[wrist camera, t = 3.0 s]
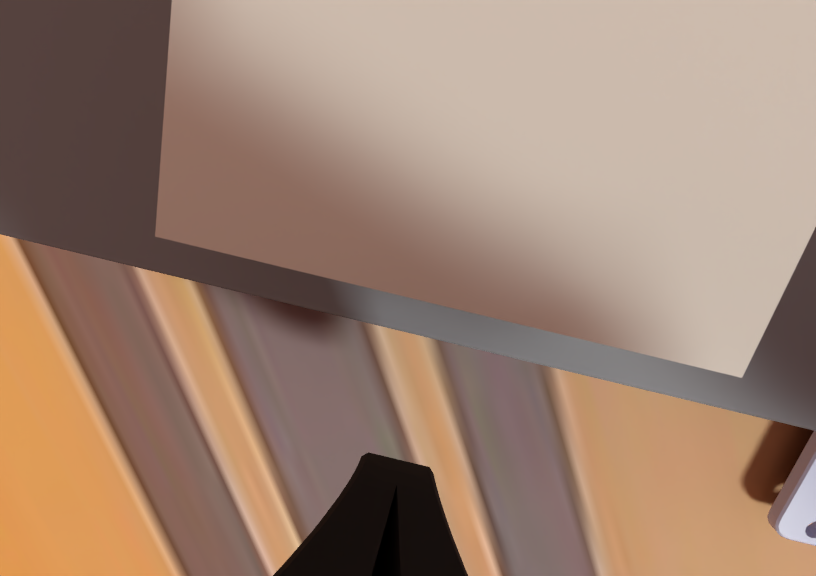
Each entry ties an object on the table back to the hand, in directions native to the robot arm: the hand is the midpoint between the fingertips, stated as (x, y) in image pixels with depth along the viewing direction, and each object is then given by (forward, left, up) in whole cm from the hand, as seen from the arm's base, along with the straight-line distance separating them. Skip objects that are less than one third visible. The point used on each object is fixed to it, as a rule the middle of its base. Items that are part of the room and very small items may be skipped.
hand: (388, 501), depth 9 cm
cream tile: (0, -7, -1) cm, 7 cm away
